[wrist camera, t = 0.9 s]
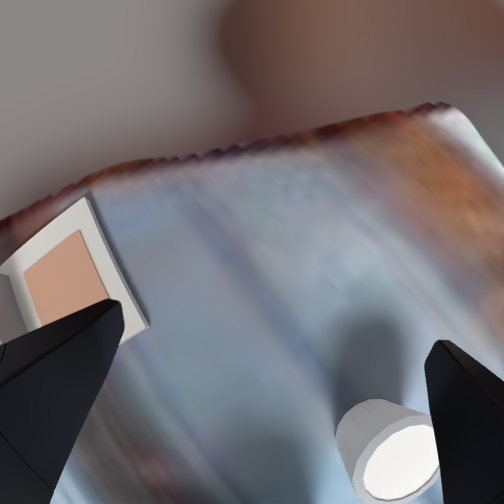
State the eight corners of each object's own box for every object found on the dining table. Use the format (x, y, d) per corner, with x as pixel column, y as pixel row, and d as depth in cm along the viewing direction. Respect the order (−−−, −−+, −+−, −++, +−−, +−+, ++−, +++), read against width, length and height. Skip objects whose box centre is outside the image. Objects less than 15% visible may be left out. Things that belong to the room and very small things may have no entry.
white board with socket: (150, 326, 22) (124, 328, 17) (4, 413, 20) (-28, 422, 15) (89, 200, 24) (60, 177, 19) (-35, 308, 22) (-67, 304, 17)
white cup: (346, 480, 19) (373, 525, 12) (312, 420, 21) (335, 458, 14) (416, 436, 20) (461, 465, 13) (390, 374, 21) (436, 392, 14)
